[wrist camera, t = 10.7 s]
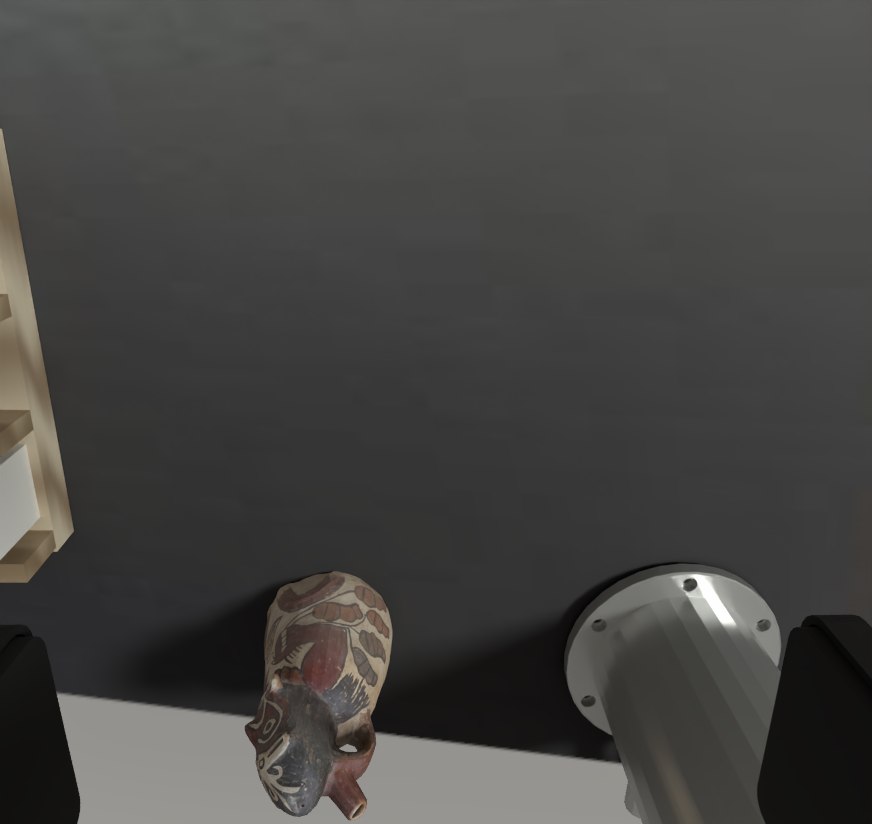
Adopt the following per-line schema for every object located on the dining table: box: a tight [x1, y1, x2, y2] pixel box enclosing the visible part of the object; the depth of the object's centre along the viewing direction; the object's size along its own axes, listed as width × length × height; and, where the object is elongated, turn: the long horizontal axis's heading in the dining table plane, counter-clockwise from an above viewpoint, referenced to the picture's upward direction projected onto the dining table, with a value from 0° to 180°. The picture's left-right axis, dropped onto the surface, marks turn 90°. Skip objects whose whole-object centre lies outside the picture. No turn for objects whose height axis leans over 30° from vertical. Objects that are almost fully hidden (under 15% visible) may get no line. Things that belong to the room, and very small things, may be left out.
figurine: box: [245, 571, 392, 820], centre depth 36 cm, size 7×7×12 cm
